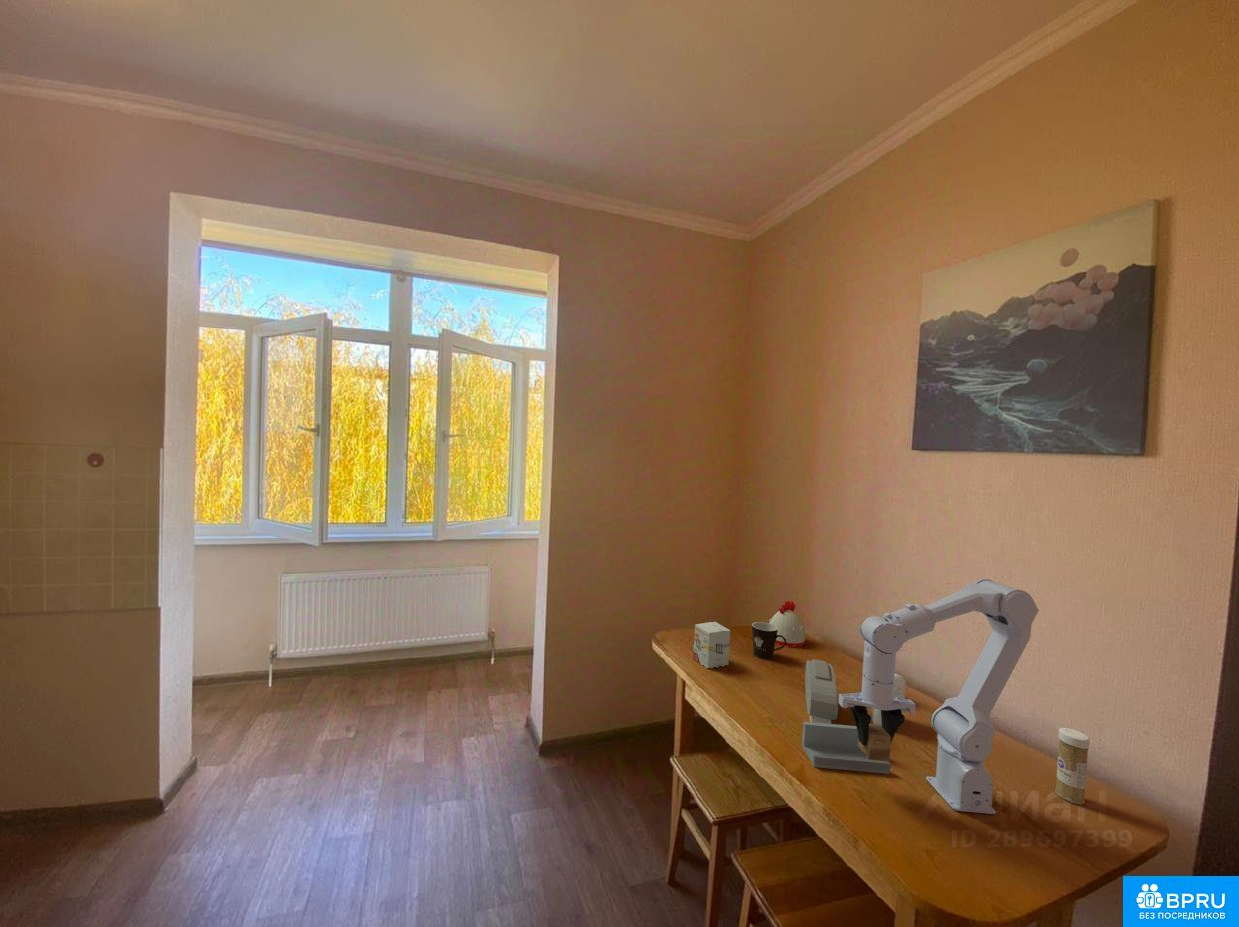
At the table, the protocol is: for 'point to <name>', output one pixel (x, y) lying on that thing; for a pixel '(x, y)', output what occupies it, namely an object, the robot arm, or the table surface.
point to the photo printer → (898, 692)
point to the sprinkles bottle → (1072, 765)
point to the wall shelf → (838, 748)
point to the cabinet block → (877, 743)
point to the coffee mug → (765, 639)
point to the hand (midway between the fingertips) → (874, 743)
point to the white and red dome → (788, 626)
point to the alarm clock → (821, 692)
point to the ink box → (711, 644)
